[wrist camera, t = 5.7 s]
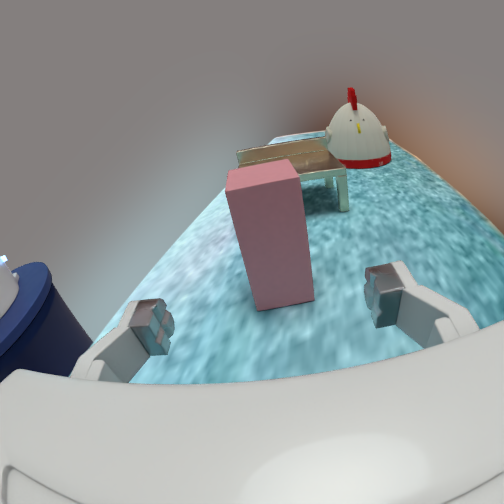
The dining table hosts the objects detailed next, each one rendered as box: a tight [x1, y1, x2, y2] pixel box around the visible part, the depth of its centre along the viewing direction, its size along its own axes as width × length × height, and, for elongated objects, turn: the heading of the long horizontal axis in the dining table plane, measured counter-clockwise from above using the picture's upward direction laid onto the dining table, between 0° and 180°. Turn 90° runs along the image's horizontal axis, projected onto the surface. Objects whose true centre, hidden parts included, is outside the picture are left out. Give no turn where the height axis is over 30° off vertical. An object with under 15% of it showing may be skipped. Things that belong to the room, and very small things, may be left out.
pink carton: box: [225, 159, 314, 311], centre depth 23 cm, size 5×5×11 cm
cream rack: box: [236, 136, 349, 212], centre depth 39 cm, size 14×11×8 cm
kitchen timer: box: [325, 88, 391, 169], centre depth 50 cm, size 14×14×15 cm
